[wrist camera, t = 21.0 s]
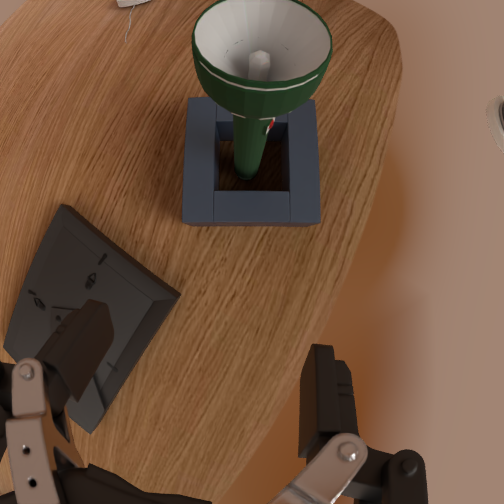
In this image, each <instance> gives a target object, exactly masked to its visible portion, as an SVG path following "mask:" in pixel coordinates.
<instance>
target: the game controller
mask: <svg viewBox="0 0 504 504" xmlns="http://www.w3.org/2000/svg"><path fill="white" fill-rule="evenodd" d="M147 1H149V0H117V3H118V6H119V7H127V6H132V5H134V6H135V5H136V4H140V3H144V2H147ZM134 6H133V8H134ZM131 11H132V9H131ZM130 16H131V12H130ZM129 19H130V17H129ZM130 24H131V19H130ZM129 28H130V25H129ZM128 30H129V29H128ZM128 30H127V31H128ZM126 35H127V32H126ZM125 42H126V36H125ZM126 43H127V42H126Z"/></svg>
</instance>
